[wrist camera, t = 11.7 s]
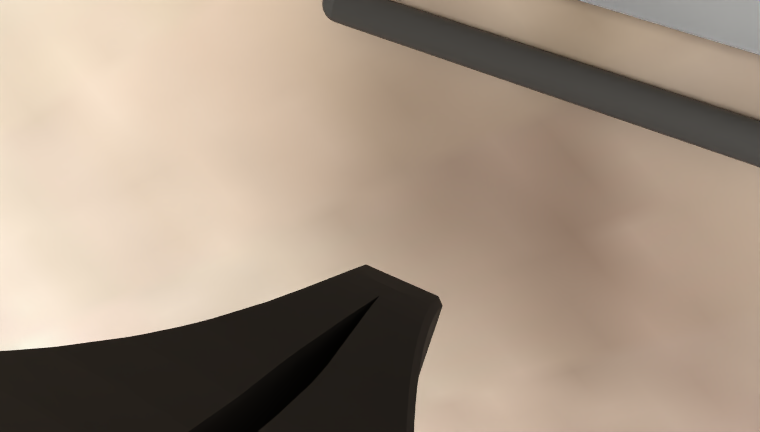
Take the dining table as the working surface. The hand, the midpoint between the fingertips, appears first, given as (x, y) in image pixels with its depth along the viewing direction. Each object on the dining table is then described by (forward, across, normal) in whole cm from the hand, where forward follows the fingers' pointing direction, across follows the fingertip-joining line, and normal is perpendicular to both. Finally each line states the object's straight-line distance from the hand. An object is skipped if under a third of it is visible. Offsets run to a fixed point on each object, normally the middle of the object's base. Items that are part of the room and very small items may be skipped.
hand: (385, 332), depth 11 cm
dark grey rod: (+10, -4, -2) cm, 11 cm away
